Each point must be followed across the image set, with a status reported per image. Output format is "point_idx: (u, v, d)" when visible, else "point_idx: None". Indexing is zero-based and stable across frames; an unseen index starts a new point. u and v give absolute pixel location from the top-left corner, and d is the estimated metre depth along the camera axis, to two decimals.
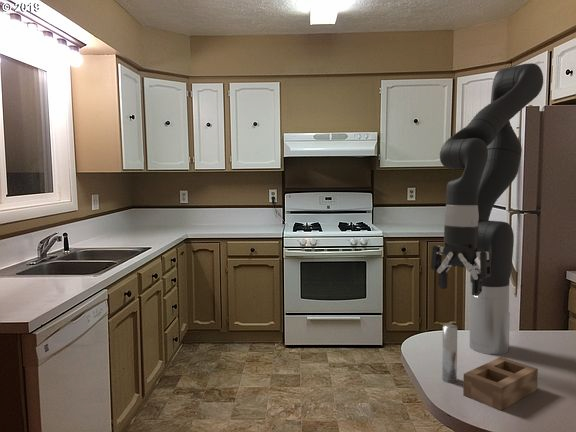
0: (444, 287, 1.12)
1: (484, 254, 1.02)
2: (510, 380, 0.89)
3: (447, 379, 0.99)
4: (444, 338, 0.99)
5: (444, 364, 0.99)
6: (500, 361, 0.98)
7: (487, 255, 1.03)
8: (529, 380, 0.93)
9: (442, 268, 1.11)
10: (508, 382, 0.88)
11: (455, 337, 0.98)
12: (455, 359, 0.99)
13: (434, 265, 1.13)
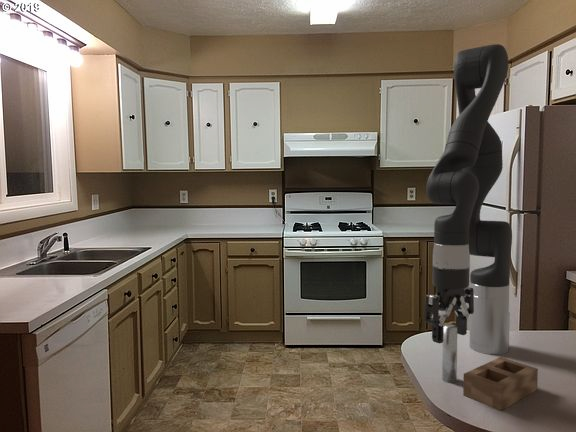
0: None
1: (472, 290, 1.02)
2: (510, 380, 0.89)
3: (447, 379, 0.99)
4: (444, 338, 0.99)
5: (444, 364, 0.99)
6: (500, 361, 0.98)
7: None
8: (529, 380, 0.93)
9: (443, 319, 0.96)
10: (508, 382, 0.88)
11: (455, 337, 0.98)
12: (455, 359, 0.99)
13: (437, 319, 0.94)
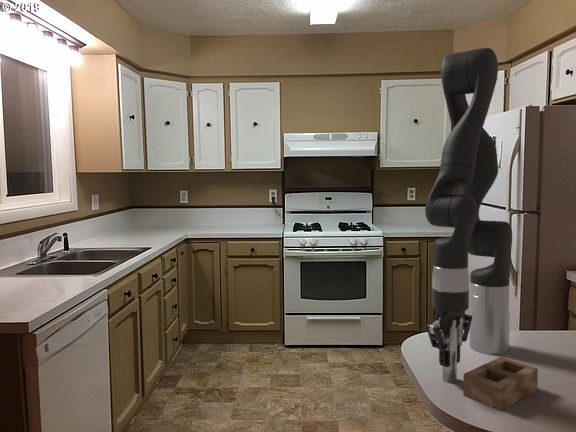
0: None
1: None
2: (510, 380, 0.89)
3: (447, 379, 0.99)
4: None
5: None
6: (500, 361, 0.98)
7: None
8: (529, 380, 0.93)
9: (449, 343, 0.98)
10: (508, 382, 0.88)
11: (455, 337, 0.98)
12: (455, 359, 0.99)
13: (444, 344, 0.96)
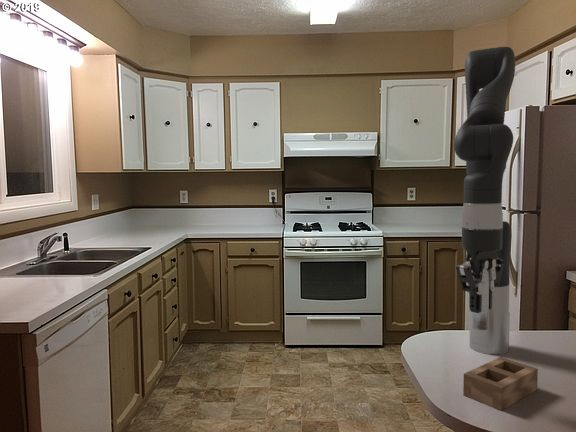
0: None
1: (504, 262, 0.94)
2: (510, 380, 0.89)
3: (478, 326, 0.92)
4: (475, 282, 0.92)
5: None
6: (500, 361, 0.98)
7: None
8: (529, 380, 0.93)
9: (481, 286, 0.90)
10: (508, 382, 0.88)
11: (487, 280, 0.91)
12: (486, 304, 0.91)
13: (475, 287, 0.89)
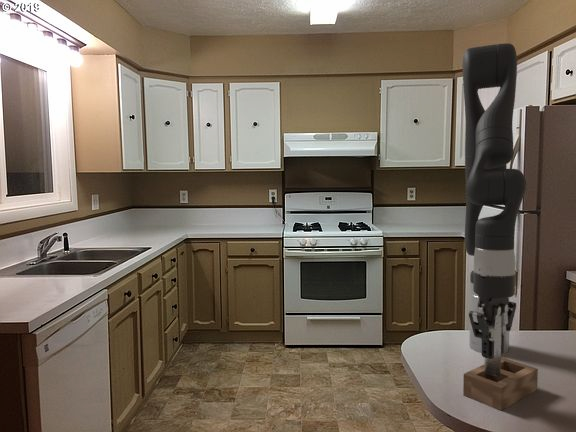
0: None
1: (515, 306, 0.93)
2: (510, 380, 0.89)
3: (490, 372, 0.90)
4: None
5: None
6: None
7: None
8: (529, 380, 0.93)
9: (493, 332, 0.89)
10: (508, 382, 0.88)
11: (499, 326, 0.90)
12: (499, 350, 0.90)
13: (488, 333, 0.88)
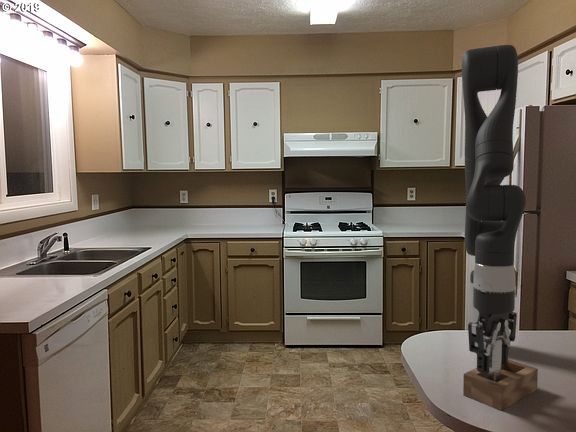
0: None
1: None
2: (510, 380, 0.89)
3: None
4: None
5: None
6: None
7: None
8: (529, 380, 0.93)
9: (489, 347, 0.88)
10: (508, 382, 0.88)
11: (500, 350, 0.90)
12: (499, 374, 0.90)
13: (483, 348, 0.87)
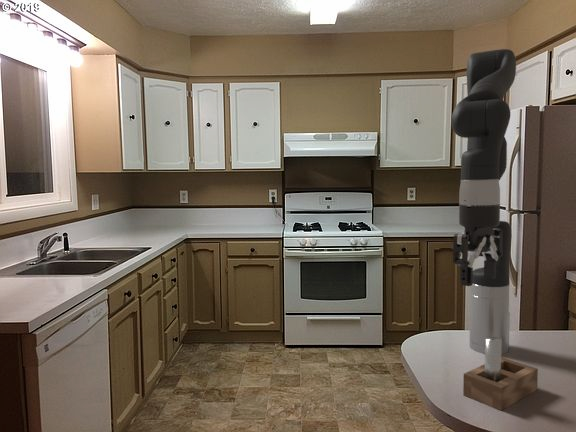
0: None
1: (501, 231, 0.95)
2: (510, 380, 0.89)
3: None
4: (487, 352, 0.91)
5: None
6: None
7: None
8: (529, 380, 0.93)
9: (473, 260, 0.89)
10: (508, 382, 0.88)
11: (499, 351, 0.90)
12: (499, 374, 0.90)
13: (466, 259, 0.88)
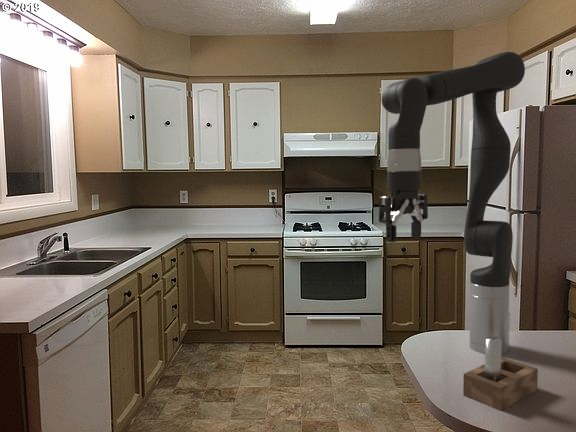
0: None
1: None
2: (510, 380, 0.89)
3: None
4: (487, 352, 0.91)
5: None
6: None
7: None
8: (529, 380, 0.93)
9: (396, 219, 1.02)
10: (508, 382, 0.88)
11: (499, 351, 0.90)
12: (499, 374, 0.90)
13: (389, 218, 1.01)
